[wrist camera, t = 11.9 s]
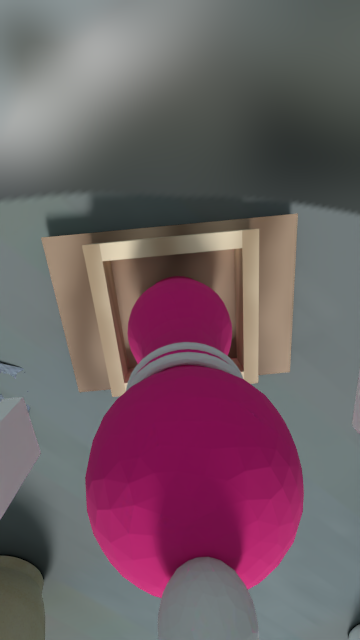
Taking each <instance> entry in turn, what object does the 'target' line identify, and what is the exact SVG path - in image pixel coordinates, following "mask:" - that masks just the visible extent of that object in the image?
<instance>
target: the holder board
mask: <svg viewBox="0 0 360 640" xmlns="http://www.w3.org/2000/svg"><path fill="white" fill-rule="evenodd" d="M297 219H298V214H288V215H278V216H267V217H256V218H246V219H235V220H224V221H213V222H203V223H192V224H181V225H171V226H160V227H149V228H139V229H128V230H117V231H107V232H96V233H85V234H75V235H64V236H53V237H43V238H41V239H42V243H43V247H44V251H45V255H46V259H47V263H48V267H49V271H50V275H51V279H52V284H53V288H54V292H55V296H56V300H57V304H58V308H59V312H60V316H61V320H62V324H63V328H64V332H65V336H66V341H67V345H68V349H69V353H70V357H71V361H72V365H73V369H74V373H75V377H76V381H77V385H78V389H79V392H87V391H97V390H108V389H111V393H112V397H117V396H121V395H123V394H124V393H125V392H126V387H127V384H128V380H129V378H130V375H131V373H132V372H133V370H134V368H135V367H136V366H137V365H138V363H137V361H136V359H135V357H134V355H133V353H132V351H131V348H130V345H129V341H128V334H127V333H128V322H129V317H130V314H131V311H132V308H133V306H134V304H135V303H136V301H137V300H138V298H139V297H140V296H141V295H142V294H143V293H144V292H145V291H146V290H147V289H148V288H150V287H152V286H153V285H155V284H156V283H157V282H159V281H160V280H162V279H165V278H168V277H173V276H184V277H188V278H191V279H194V280H196V281H198V282H201V283H203V284H205V285H206V286H208V287H210V288H211V289H212V290H213V291H215V292H216V293H217V294H218V295H219V297H220V298H221V299H222V301H223V302H224V304H225V306H226V308H227V311H228V313H229V316H230V320H231V323H232V339H231V346H230V350H229V353H228V357H229V358H231V359H232V360H233V362H234V363H235V364H236V366H237V367H238V368H239V370H240V372H241V374H242V376H243V379H244V380H245V381H247V382H248V383H249V384H252V383H258V375H264V374H275V373H285V372H290V358H291V338H292V318H293V298H294V278H295V259H296V239H297Z"/></svg>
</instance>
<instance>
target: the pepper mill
mask: <svg viewBox="0 0 360 640" xmlns="http://www.w3.org/2000/svg"><path fill="white" fill-rule="evenodd" d="M127 334H128V341H129V345H130V348H131V351H132V353H133V355H134V357H135V359H136V361H137V363H138V365H137V366H136V367H135V368H134V370H133V372H132V373H131V375H130V378H129V380H128V384H127V387H126V392H125V393H124V394H123V395H121V396H120V397H119V398H118V399H117V400H116V401H115V403H114V404H113V405H112V407H111V408H110V409H109V410H108V412H107V413H106V414H105V416H104V417H103V420H102V422H101V424H100V426H99V429H98V431H97V433H96V435H95V437H94V440H93V443H92V448H91V452H90V457H89V462H88V467H87V472H86V477H85V479H86V500H87V512H88V516H89V520H90V523H91V527H92V530H93V534H94V536H95V538H96V539H97V541H98V543H99V545H100V547H101V549H102V551H103V552H104V554H105V555H106V557H107V558H108V560H109V561H110V563H111V564H112V565H113V566H114V567H115V568H116V569H117V570H118V572H119V573H120V574H121V575H122V576H123V577H124V578H126V579H127V580H129V581H130V582H131V583H133V584H134V585H135V586H137V587H138V588H140V589H142V590H144V591H145V592H147V593H149V594H151V595H153V596H156V597H160V598H162V599H161V604H160V608H159V613H158V640H259V628H258V622H257V616H256V611H255V608H254V604H253V600H252V598H251V596H250V594H249V592H248V589H250V588H251V587H253V586H255V585H257V584H258V583H260V582H261V581H262V580H263V579H265V578H266V577H267V576H268V575H269V574H270V573H271V572H272V571H273V570H274V569H275V568H276V567H277V566H278V565H279V563H280V562H281V560H282V559H283V557H284V556H285V554H286V553H287V551H288V550H289V548H290V547H291V545H292V544H293V542H294V539H295V536H296V532H297V529H298V525H299V522H300V519H301V515H302V512H303V497H304V491H303V477H302V468H301V464H300V460H299V457H298V453H297V449H296V446H295V444H294V441H293V439H292V436H291V434H290V432H289V429H288V428H287V426H286V424H285V422H284V420H283V418H282V417H281V415H280V414H279V412H278V411H277V409H276V408H275V407H274V406H273V404H272V403H271V402H270V401H269V399H268V398H267V397H266V396H265V395H264V394H263V393H261V392H260V391H259V390H257V389H256V388H255V387H253V386H252V385H251V384H249V383H248V382H247V381H245V380H244V379H243V376H242V374H241V372H240V370H239V368H238V367H237V366H236V364H235V363H234V362H233V360H232V359H231V358H229V357H228V353H229V350H230V346H231V339H232V323H231V320H230V316H229V313H228V311H227V308H226V306H225V304H224V302H223V301H222V299H221V298H220V297H219V295H218V294H217V293H216V292H215V291H213V290H212V289H211V288H210V287H208V286H206V285H205V284H203V283H201V282H198V281H196V280H194V279H191V278H188V277H184V276H173V277H168V278H165V279H162V280H160V281H159V282H157V283H156V284H155V285H153V286H152V287H150V288H148V289H147V290H146V291H145V292H144V293H143V294H142V295H141V296H140V297H139V298H138V300H137V301H136V303H135V304H134V306H133V308H132V311H131V314H130V317H129V322H128V333H127Z"/></svg>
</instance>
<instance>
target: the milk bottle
mask: <svg viewBox="0 0 360 640" xmlns="http://www.w3.org/2000/svg"><path fill="white" fill-rule="evenodd" d="M349 640H360V624H359V625H357V626H356V627H355V628H353V629H352V631H351V632H350V634H349Z"/></svg>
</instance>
